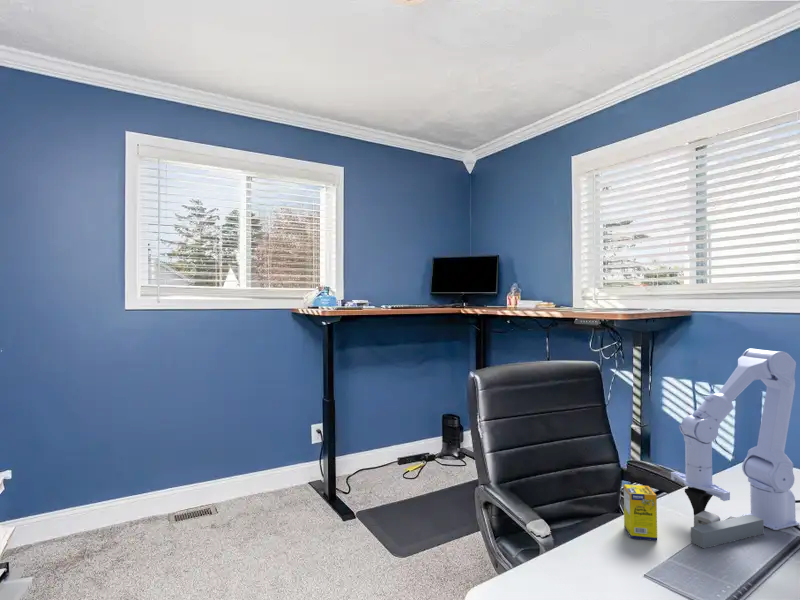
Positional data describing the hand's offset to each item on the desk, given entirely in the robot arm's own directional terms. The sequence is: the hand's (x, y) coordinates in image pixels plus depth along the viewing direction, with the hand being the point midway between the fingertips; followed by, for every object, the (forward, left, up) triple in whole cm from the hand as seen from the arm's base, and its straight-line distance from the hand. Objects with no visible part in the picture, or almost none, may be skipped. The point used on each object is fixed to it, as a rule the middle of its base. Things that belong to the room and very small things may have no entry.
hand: (699, 518), depth 116 cm
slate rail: (0, +7, -2) cm, 7 cm away
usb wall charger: (0, +3, -2) cm, 3 cm away
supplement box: (+18, -1, -2) cm, 18 cm away
